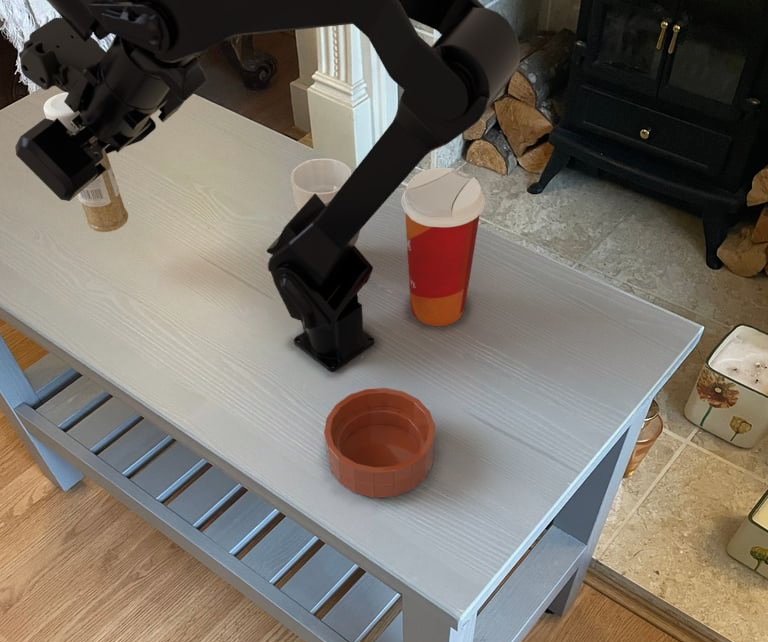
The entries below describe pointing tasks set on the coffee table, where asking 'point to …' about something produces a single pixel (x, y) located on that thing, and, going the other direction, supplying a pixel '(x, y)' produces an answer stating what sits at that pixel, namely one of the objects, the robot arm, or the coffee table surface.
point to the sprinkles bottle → (103, 192)
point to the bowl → (380, 442)
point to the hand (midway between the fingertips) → (78, 164)
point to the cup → (318, 180)
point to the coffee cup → (441, 241)
